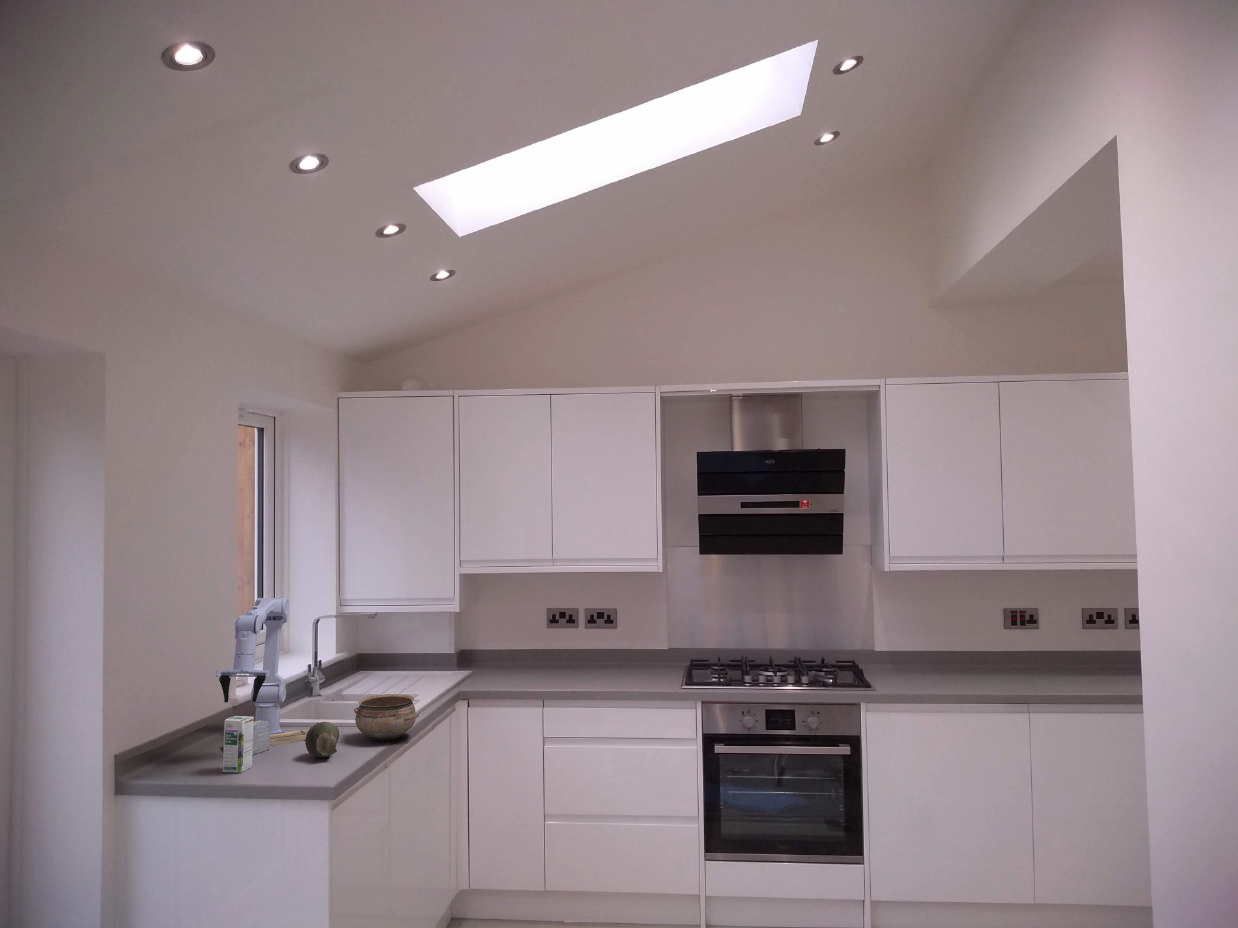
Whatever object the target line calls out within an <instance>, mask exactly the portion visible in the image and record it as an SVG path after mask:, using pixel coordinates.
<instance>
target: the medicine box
mask: <svg viewBox="0 0 1238 928" xmlns="http://www.w3.org/2000/svg"><path fill="white" fill-rule="evenodd" d="M270 735H271V734H270V722H267V721H260V720H259V721H256V722H255V721H254V722H253V753H252V757H253V756H255V755H258V754H261V753H262V752H266V751H269V750H270V746H269V742H270Z"/></svg>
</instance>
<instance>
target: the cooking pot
mask: <svg viewBox="0 0 1238 928" xmlns="http://www.w3.org/2000/svg"><path fill="white" fill-rule="evenodd" d="M414 701H415V697H414V696H412V695H407V694H401V693H400V694H398V693H393V694H392V693H390V694H389V693H388V694H387V693H386V694H377V695H370V696H367V697H363V698H361V699H359V700H358V701H357V703H358V705H359V706H355V707H354V708H353V711H354V713H355V718H354V720H355V721H354V722H355V726H356V728H357V729H358V731H360V732H361V733H362V734H364V736H367V737H368V738H371V739H373V740H375V741H376V740H377V741H376V742H391V741H395V740H396V739H397V738H399V737H401V736H402V735H404V734H405V733H407V732H409V731H410V730H411V729H412V728H413V726H414V725H415V723H416V720H417V718H419V717H420V714H419V713H417V711H416V707H415V705H414Z"/></svg>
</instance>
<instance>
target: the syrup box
mask: <svg viewBox="0 0 1238 928" xmlns="http://www.w3.org/2000/svg"><path fill="white" fill-rule="evenodd" d="M254 720H255V719H254V716H244V715H243V716H241V715H235V716H229V718H228V717H227V718H226V719H224V726H223V741H224V748H223V757H222V758H223V759H222V761H223V762H222V773H237V774H241V773H244V772H245V771H247V770H249V769H251V768H252V767H253V756H252V753H253V722H255V721H254Z"/></svg>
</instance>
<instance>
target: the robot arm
mask: <svg viewBox="0 0 1238 928" xmlns="http://www.w3.org/2000/svg"><path fill="white" fill-rule="evenodd" d="M289 612H290V603H289V599H288V598H287V597H265V598H264V597H258V598H256V600H255V602H254V606H251V608H250V609H249V610H248V611H247V612H245V614H244V615H243V614H241V615H239V616H238V617H236V619H235V621H234V633H235V634H234V640H236V641H235V649H234V657H233V666H232V667H233V669H216V671H215V673H216V674H215V678H218V681H219V683H220V687H221V690H222V693H223V699H224V700H223V703H229V696H230V694H229V693H230V685H231V678H233V677H234V678H254V679H253V685H252V688H251V694H250V700H251V702H252V704H253V705H254V707H256V709H255V719H254V720H255V721H254V722H256V721H259V720H260V721H267V722H270V735H273V734H280V733H284V730H283V729H281V728H280V726H281V722H280V721H281V704H283V703H284V702H285V700H286V696H287V688H286V687H287V685H286V684H287V683H286V679H285V678H283V676H281V675H279V673H278V672H279V660H280V648H281V647H280V646H281V638H282V635H281V634H282V628H283V625H285V624H286V623H287V622H288V620H289V614H290V613H289ZM263 625H264V626H265V627H266V629H265V639H264V652H263V653H264V654H263V664H262V669H255V660H256V651H257V650H256V649H257V641H258V635H259V634H260V632H261V629H262V626H263Z"/></svg>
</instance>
